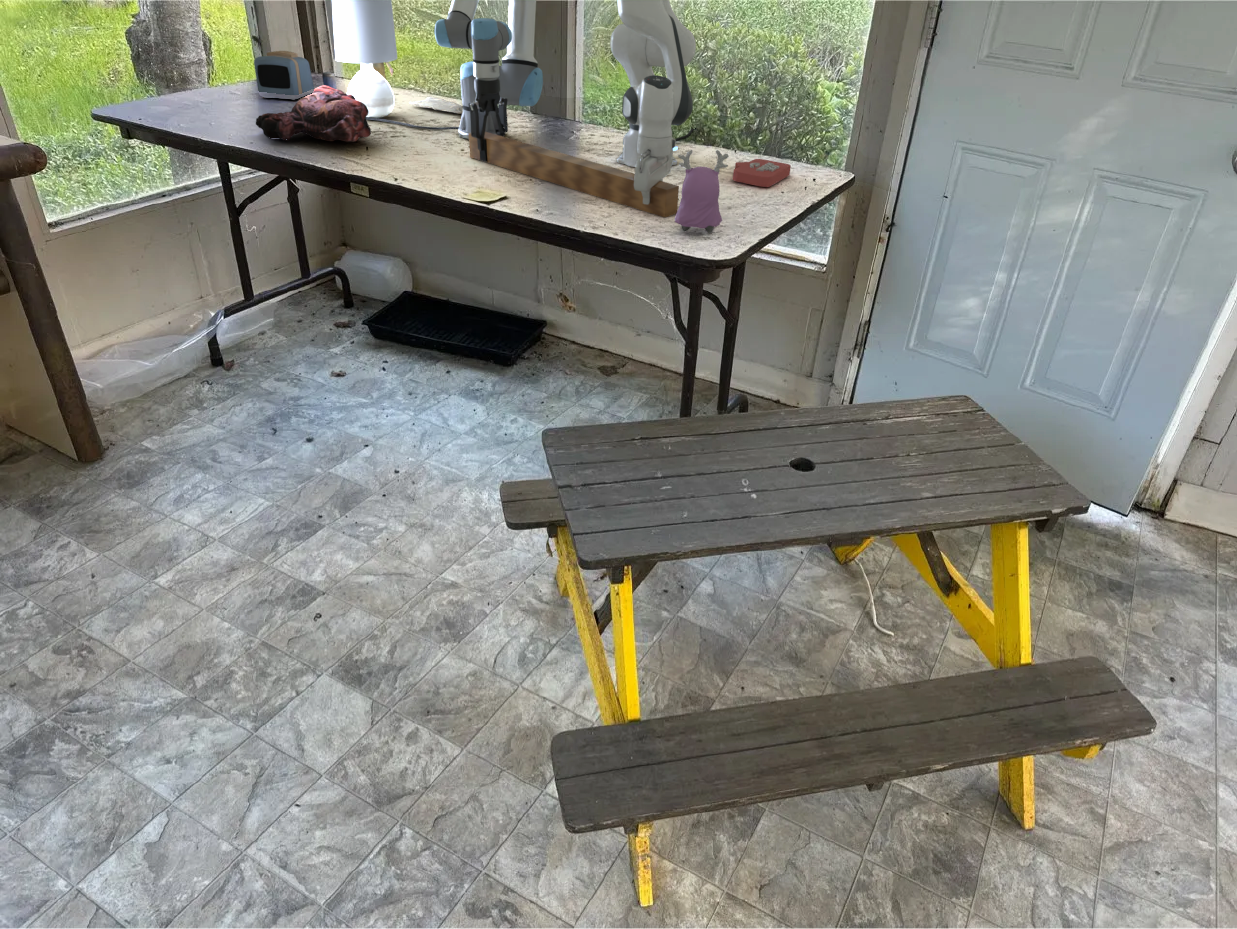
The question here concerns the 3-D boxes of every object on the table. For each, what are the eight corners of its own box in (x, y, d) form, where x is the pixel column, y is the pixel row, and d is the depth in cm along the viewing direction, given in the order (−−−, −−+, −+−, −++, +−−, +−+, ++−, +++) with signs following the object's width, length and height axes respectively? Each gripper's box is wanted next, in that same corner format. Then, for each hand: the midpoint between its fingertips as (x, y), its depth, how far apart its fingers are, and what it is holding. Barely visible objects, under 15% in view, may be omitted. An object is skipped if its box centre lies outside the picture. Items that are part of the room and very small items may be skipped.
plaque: (748, 154, 263) (793, 162, 256) (746, 167, 265) (791, 175, 258) (722, 166, 250) (769, 175, 244) (721, 179, 252) (767, 189, 246)
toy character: (721, 226, 217) (729, 145, 206) (721, 240, 208) (729, 156, 197) (673, 223, 218) (679, 142, 207) (671, 236, 209) (677, 153, 198)
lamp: (416, 115, 310) (403, -11, 287) (372, 125, 294) (355, -7, 272) (373, 106, 319) (358, -16, 296) (328, 116, 304) (309, -13, 281)
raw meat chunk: (388, 148, 274) (381, 105, 266) (300, 168, 259) (290, 124, 251) (331, 115, 299) (323, 75, 291) (247, 132, 285) (236, 91, 276)
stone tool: (407, 106, 321) (455, 116, 310) (406, 98, 320) (455, 108, 308) (428, 102, 329) (476, 112, 317) (427, 94, 327) (475, 104, 316)
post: (469, 157, 265) (468, 133, 261) (482, 154, 268) (481, 130, 264) (664, 217, 222) (666, 189, 218) (677, 213, 225) (679, 185, 221)
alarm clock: (257, 98, 324) (248, 53, 316) (278, 90, 338) (270, 46, 329) (297, 101, 323) (289, 55, 314) (317, 93, 336) (310, 49, 327)
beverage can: (339, 109, 314) (334, 74, 307) (318, 108, 314) (312, 73, 307) (346, 104, 321) (341, 69, 314) (325, 103, 321) (320, 69, 314)
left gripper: (470, 83, 242) (476, 166, 255) (518, 76, 253) (521, 156, 266) (454, 79, 246) (460, 161, 259) (501, 72, 257) (505, 151, 270)
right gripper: (652, 156, 209) (649, 212, 217) (677, 138, 225) (674, 191, 233) (628, 153, 211) (626, 208, 219) (655, 135, 227) (652, 187, 235)
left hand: (491, 158), depth 263 cm, fingers closed on post, 5 cm apart
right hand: (651, 199), depth 226 cm, fingers closed on post, 6 cm apart
